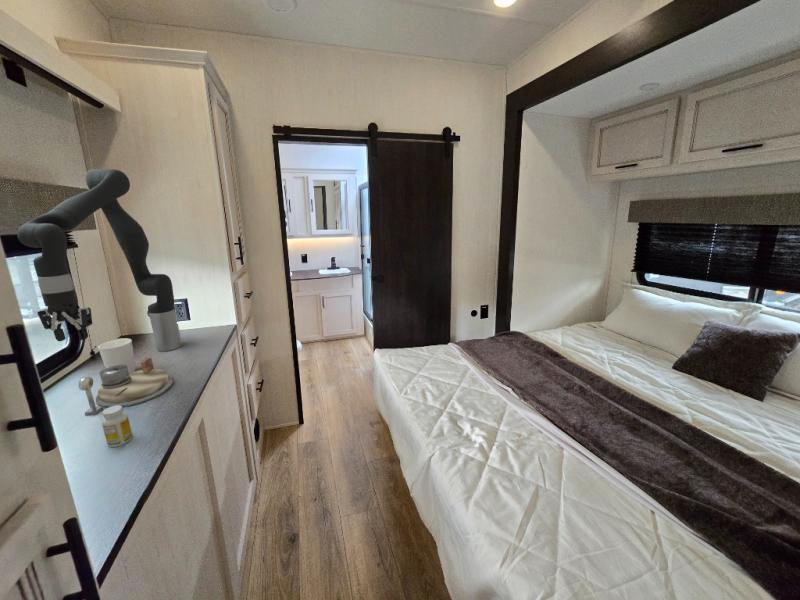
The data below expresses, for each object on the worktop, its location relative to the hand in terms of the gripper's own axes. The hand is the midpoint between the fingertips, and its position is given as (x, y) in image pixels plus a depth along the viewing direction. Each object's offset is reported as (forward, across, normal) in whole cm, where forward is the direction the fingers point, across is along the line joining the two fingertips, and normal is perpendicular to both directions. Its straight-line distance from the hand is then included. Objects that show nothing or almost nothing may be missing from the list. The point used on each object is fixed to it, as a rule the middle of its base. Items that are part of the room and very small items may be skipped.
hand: (72, 339), depth 110 cm
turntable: (+18, -15, 0) cm, 24 cm away
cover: (+16, -10, 0) cm, 19 cm away
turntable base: (+20, -15, 0) cm, 25 cm away
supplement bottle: (+20, -27, +27) cm, 43 cm away
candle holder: (+20, -1, -15) cm, 25 cm away
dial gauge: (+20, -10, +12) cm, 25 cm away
